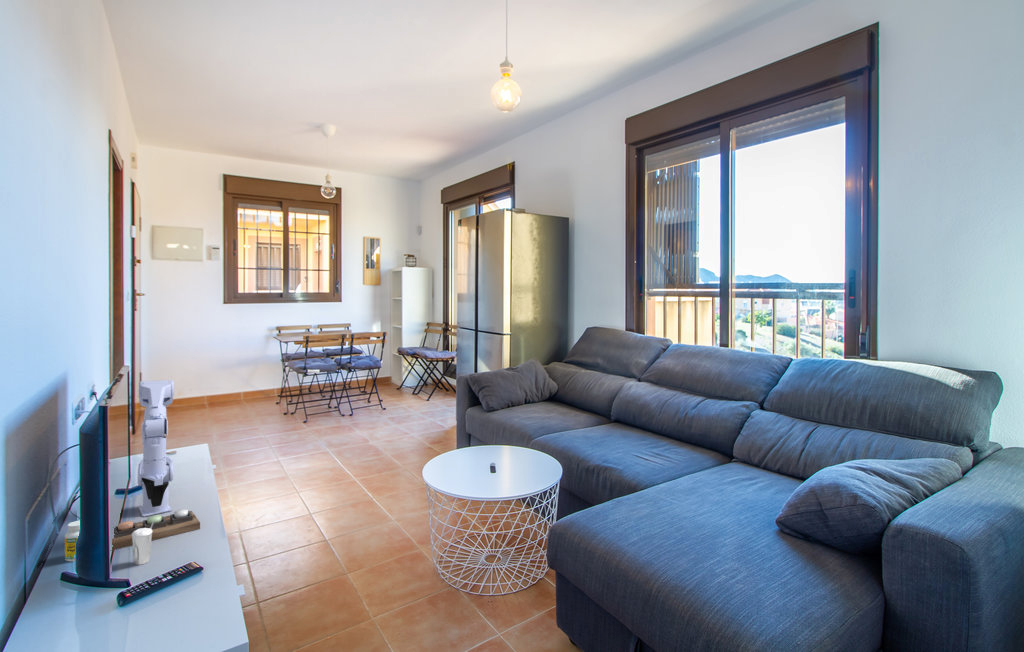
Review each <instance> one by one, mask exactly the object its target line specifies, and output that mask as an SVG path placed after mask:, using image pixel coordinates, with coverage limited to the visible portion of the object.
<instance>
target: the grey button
mask: <svg viewBox="0 0 1024 652" xmlns="http://www.w3.org/2000/svg"><path fill="white" fill-rule="evenodd" d="M188 511H189V510H188V509H187V508H185V509H184V508H183V509H182V508H181V509H178V510H176V511H174V513H173V514H174V518H175V519H177V518H182V517H186V516H188Z"/></svg>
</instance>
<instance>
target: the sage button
mask: <svg viewBox="0 0 1024 652" xmlns="http://www.w3.org/2000/svg"><path fill="white" fill-rule="evenodd" d="M161 518H162V515H161V514H154V515H150V516H147V518H146V520H147V524H148V525H151V524H152V522H154V523H153V524H155V523H160V522H161Z"/></svg>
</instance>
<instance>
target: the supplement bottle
mask: <svg viewBox="0 0 1024 652" xmlns="http://www.w3.org/2000/svg"><path fill="white" fill-rule="evenodd" d="M79 530H80V520H75V521H72V522H69V523H68V524H67V531H66V533H65V534H64V560H65V561H66V562H76V561H75V558H74V555H75V544H76V541H77V538H78V536H79ZM65 557H67V558H65Z"/></svg>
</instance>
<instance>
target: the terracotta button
mask: <svg viewBox="0 0 1024 652" xmlns="http://www.w3.org/2000/svg"><path fill="white" fill-rule="evenodd" d="M133 523H134V521H133V520H126V521H123V522H119V523H118V524H117V526H118V531H124V530H128V529H132V528H133Z"/></svg>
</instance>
